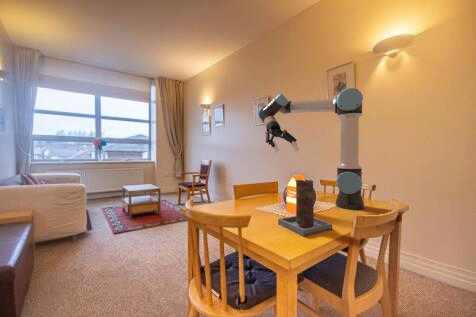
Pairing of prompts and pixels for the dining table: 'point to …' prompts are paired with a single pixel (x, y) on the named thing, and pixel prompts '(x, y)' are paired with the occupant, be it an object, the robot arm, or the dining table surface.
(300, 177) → the orange juice
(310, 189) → the candle
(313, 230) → the tray
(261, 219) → the dining table surface
